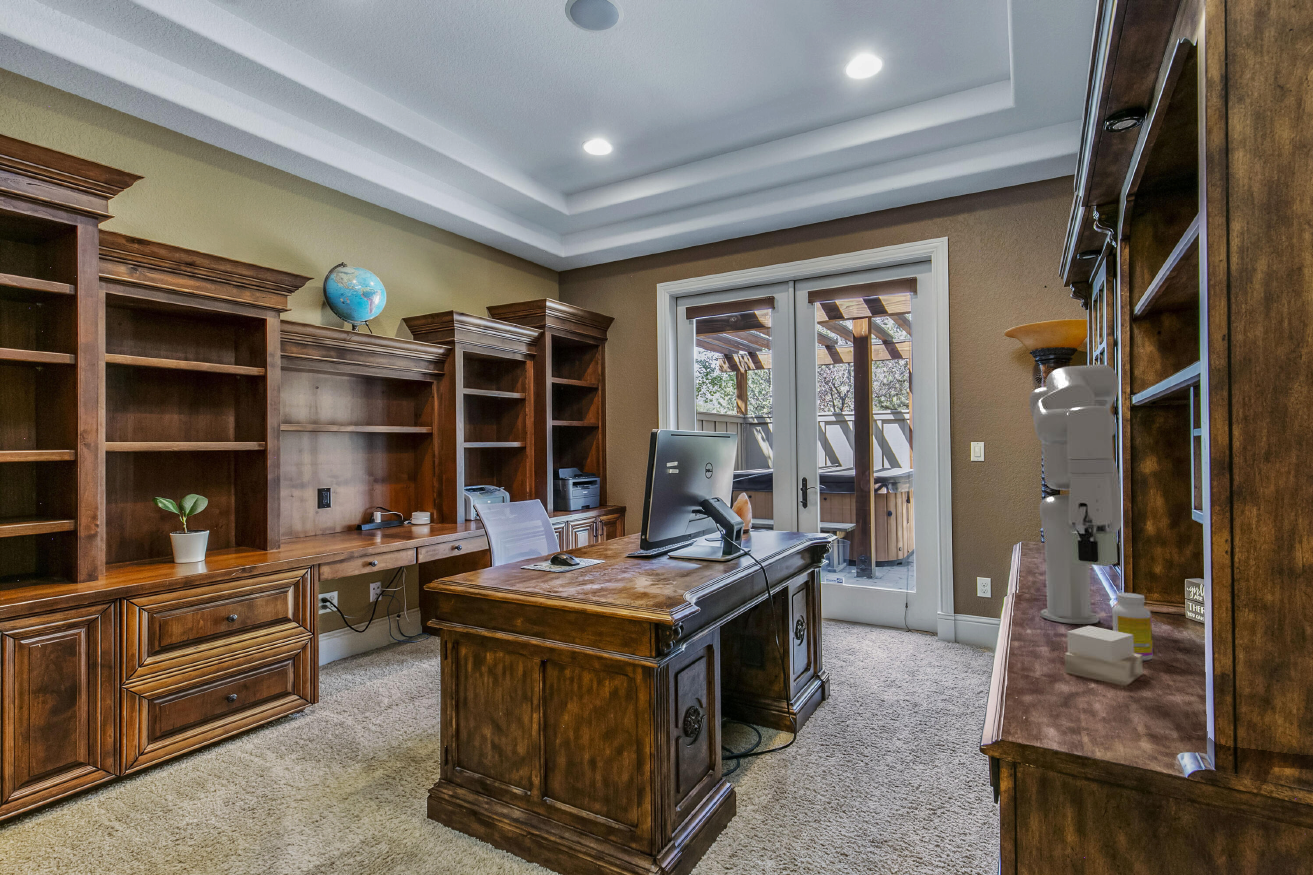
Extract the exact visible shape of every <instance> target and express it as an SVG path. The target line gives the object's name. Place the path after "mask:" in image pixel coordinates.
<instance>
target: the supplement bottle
mask: <svg viewBox="0 0 1313 875" xmlns="http://www.w3.org/2000/svg"><path fill="white" fill-rule="evenodd" d="M1145 598H1146V597H1145V595H1143V594H1138V593H1135V592H1133V593H1132V592H1118V593H1117V594H1116V600H1117V602H1118V604H1116V605H1115V606H1113V607H1112V610H1111V611H1112V613H1111V614H1112V630H1113V631H1118V632H1122V633H1127V634H1132V635H1133V644H1134V653H1135V654H1141V655H1142V662H1143V661H1151V660H1152V659H1153V658H1154V650H1153V649H1154V647H1153V628H1152V626H1153V625H1152V612H1151V610H1149V609H1148V608H1147V607H1146V606H1145V607H1144V604H1145V602H1146V599H1145Z"/></svg>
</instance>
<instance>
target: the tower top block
mask: <svg viewBox="0 0 1313 875" xmlns="http://www.w3.org/2000/svg"><path fill="white" fill-rule="evenodd" d="M1066 634H1067V635H1066V637H1067V639H1066V640H1067V652H1070V653H1074V654H1078V655H1082V656H1087V657H1091V658H1095V659H1099V660H1103V661H1107V662H1111V663H1113V662H1116V661H1119V660H1122V659H1125V658H1128V657H1131V656H1134V644H1133V635H1132V634H1127V633H1122V632H1118V631H1113V629H1112V630H1111V629H1107V628H1102V627H1097V626H1092V625H1087V626H1083V627H1079V628H1074V629H1072V630H1068V631H1067V632H1066Z"/></svg>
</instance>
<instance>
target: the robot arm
mask: <svg viewBox="0 0 1313 875" xmlns="http://www.w3.org/2000/svg"><path fill="white" fill-rule="evenodd" d="M1118 391H1119V378H1118V375H1117V373H1116V371H1115V369H1113V368H1112V367H1111V366H1110V365H1108V364H1088V365H1073V366H1072V365H1071V366H1063V367H1059V368H1056V369H1054V370H1052V371H1050V373H1049V374H1048V376H1047V377H1046V379H1045V386H1043V387H1042V386H1041V387H1039V388H1036V389H1034V390H1033V391H1031V392H1030V395H1029V400H1028V401H1029V408H1030V409H1029V410H1030V414H1031V417H1032V419H1033V420H1032V421H1033V426H1034V431H1035V433H1036V437H1037V439H1038V440H1039V441H1040V442H1041V448H1042V450H1041V451H1042V466H1043V476H1044V477H1043V478H1044V481H1045V484H1046V485H1047V486H1048V487H1049V489H1053V490H1059V491H1069V494H1057V495H1050V496H1047V497H1045V498H1044V499H1043V500H1041V502H1040V504H1039V508H1038V510H1039V518H1040V521H1041V526H1042V527H1041V528H1042V533H1043V540H1044V557H1045V579H1046V581H1045V582H1046V603H1047V605H1046V607H1047V608H1044V609H1042V610H1041V609H1040V616H1041V617H1042V618H1043V619H1046V620H1048V621H1053V622H1058V623H1062V624H1063V623H1064V624H1071V625H1072V624H1073V625H1092V624H1097V623H1098V622H1099V620H1100V619H1099V615H1098V614H1095V613H1094V612H1092V607H1091V606H1092V601H1091V584H1090V582H1091V578H1090V564H1080V563H1072V552H1071V532H1075V531H1077V532H1078V534H1077V539H1078V557H1079V560H1080V561H1088V562H1097V561H1098V542H1097V541H1095V537H1096V531H1106V532H1116V533H1117V532H1118V531H1119V530H1120V528H1121V525H1122V508H1121V494H1120V482H1119V472H1118V467H1117V466H1118V465H1117V463H1116V461H1115V459H1114V448H1113V436H1114V435H1115V434H1116V430H1117V429H1116V427H1117V424H1116V423H1117V422H1116V418H1115V416H1114V414H1112V412H1111V408H1112V406H1113V403H1114V401H1115V400H1116V397H1117V396H1118V395H1117V394H1118ZM1090 531H1091V533H1090Z"/></svg>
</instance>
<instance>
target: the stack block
mask: <svg viewBox="0 0 1313 875" xmlns="http://www.w3.org/2000/svg"><path fill="white" fill-rule="evenodd" d="M1090 533H1091V531H1090ZM1077 534H1078V532H1077V531H1075V532H1071V552H1072V563H1080V564H1089V566H1090V565H1092V566H1103V567H1109V566H1113V565H1114V564H1118V562H1119V561H1118V546H1117V545H1118V543H1117V542H1118V541H1117V531H1116V532H1106V531H1096V537H1095V541H1097V542H1098V561H1097V562H1088V561H1080V560H1079V557H1078V539H1077Z"/></svg>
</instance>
